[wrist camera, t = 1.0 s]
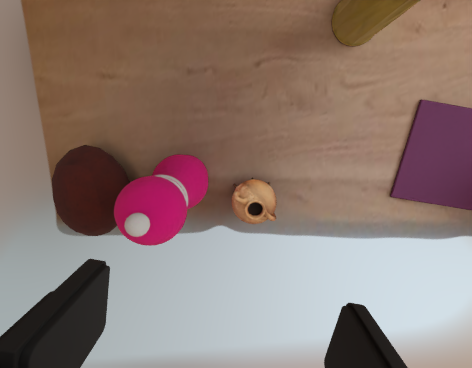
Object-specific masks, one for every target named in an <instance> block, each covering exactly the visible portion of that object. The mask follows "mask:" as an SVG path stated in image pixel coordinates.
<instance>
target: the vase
mask: <svg viewBox="0 0 472 368" xmlns="http://www.w3.org/2000/svg"><path fill="white" fill-rule="evenodd" d="M419 1H420V0H341V1H340V2H339V4H338V5H337V6H336V8H335V11H334V14H333V17H332V28H333V32H334V34H335V36H336V37H337V39H338V40H339V41H340V42H342V43H344V44H346V45H349V46H358V45H362V44H364V43H365V42H367V41H369V40H370V39H371V38H372V37H373V36H374V35H375V34H376V33H378V32H379V31H380V30H382V29H383V28H384V27H386V26H387V25H388V24H390V23H391V22H393V21H394V20H395V19H397V18H398V17H399V16H401V15H402V14H403V13H405V12H406V11H407V10H408V9H410V8H411V7H412V6H413V5H415V4H416V3H417V2H419Z"/></svg>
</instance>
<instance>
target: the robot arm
mask: <svg viewBox="0 0 472 368" xmlns="http://www.w3.org/2000/svg"><path fill="white" fill-rule="evenodd" d="M109 273H110V267H109V266H106V262H105V261H100V260H94V259H88V260H87V261H86V262H85V263H84V264H83V265H82V266H81V267H79V268H78V269H77V271H75V272H74V273H73V274H72V275H71V276H70V277H69V278H68V279H67V280H65V281H64V282H63V283H62V284H61V285H60V286H59V287H58V288H57V289H56V290H55V291H52V292H50V293H48V294H47V295H46V296H45V297H44V298H43V299H41V301H39V302H38V303H37V304H36V305H35V306H34V307H33V308H31V309H30V310H29V311H28V312H27V313H26V314H25V315H24V316H23V317H22V318H20V319H19V320H18V321H17V322H16V323H15V324H14V325H13V326H12V327H10V329H8V330H7V331H6V332H5V333H4V334H3V335H2V336H1V337H0V368H80V367H81V365H82V364H83V362H84V361H85V359H86V358H87V356H88V354H89V353H90V351H91V350H92V348H93V347H94V345H95V344H96V341H97V340H98V339H99V337H100V336H101V334H102V332H103V330H104V327H105V323H106V311H107V299H108V286H109ZM324 361H325V362H324V365H325V368H407V366H406V365H405V363H404V362H403V360H402V359H401V358H400V356H399V355H398V353H397V352H396V350H395V349H394V347H393V346H392V345H391V343H390V342H389V340H388V339H387V337H386V336H385V334H384V333H383V332H382V330H381V329H380V327H379V326H378V324H377V323H376V321H375V320H374V319H373V317H372V316H371V314H370V313H369V311H368V310H367V309H366V307H365V306H363V305H360V304H354V303H348V304H347V305H346V306H343V307H342V309H341V312H340V315H339V318H338V321H337V324H336V327H335V330H334V332H333V335H332V338H331V341H330V344H329V347H328V350H327V353H326V356H325V360H324Z"/></svg>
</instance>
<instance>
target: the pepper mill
mask: <svg viewBox="0 0 472 368" xmlns="http://www.w3.org/2000/svg"><path fill="white" fill-rule="evenodd" d="M207 188H208V173H207V170H206V167H205V166H204V164H203V163H202V162H201V161H200V160H199V159H198V158H196V157H194V156H190V155H173V156H169V157H167V158H166V159H164V160H163V161H161V162H160V163H159V164H158V165H157V166H156V168H155V170H154V171H153V175H152V176H147V177H141V178H138V179H136V180H134V181H132V182H130V183H129V184H128V185H126V186H125V187H124V188H123V189H122V191H121V192H120V194H119V195H118V197H117V199H116V202H115V206H114V217H115V221H116V223H117V226H118V228H119V229H120V231H121V233H122V234H123V235H124V236H126V237H127V238H128V239H129V240H131V241H133V242H135V243H138V244H141V245H158V244H161V243H164V242H166V241H168V240H170V239H171V238H173V237H174V236H175V235H176V234H177V233H178V232H179V231H180V230H181V228H182V227H183V225H184V222H185V219H186V216H187V209H189V208H192V207H193V206H195V205H197V204H198V203H199V202H200V201H201V200H202V199H203V197H204V196H205V194H206V192H207Z"/></svg>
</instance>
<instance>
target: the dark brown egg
mask: <svg viewBox="0 0 472 368" xmlns="http://www.w3.org/2000/svg"><path fill="white" fill-rule="evenodd" d="M129 183H130V181H129V179H128V177H127V175H126V173H125V171H124V169H123V168H122V167H121V166H120V164H119V163H118V162H117V161H116V160H115V159H114V158H113V156H111V155H110V154H108V153H107V152H105V151H103V150H102V149H100V148H97V147H92V146H87V145H84V146H81V147H78V148H75V149H73V150H70V151H69V152H68V153H67V154H66V155H65V156H64V157H63V158H62V159H61V160H60V161H59V162H58V163H57V164H56V168H55V171H54V175H53V178H52V187H53V200H54V203H55V207H56V210H57V213H58V214H59V216H60V217H61V219H62V221H63V222H64V223H65V224H66V225H67V226H69V227H70V228H71V229H73V230H74V231H76V232H79V233H82V234H85V235H88V236H99V235H102V234H105V233H108V232H110V231H111V230H112V229H114V228H115V227H116V226H117V223H116V221H115V217H114V206H115V202H116V199H117V197H118V195H119V194H120V192H121V191H122V189H123V188H124V187H125V186H126V185H128V184H129Z"/></svg>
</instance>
